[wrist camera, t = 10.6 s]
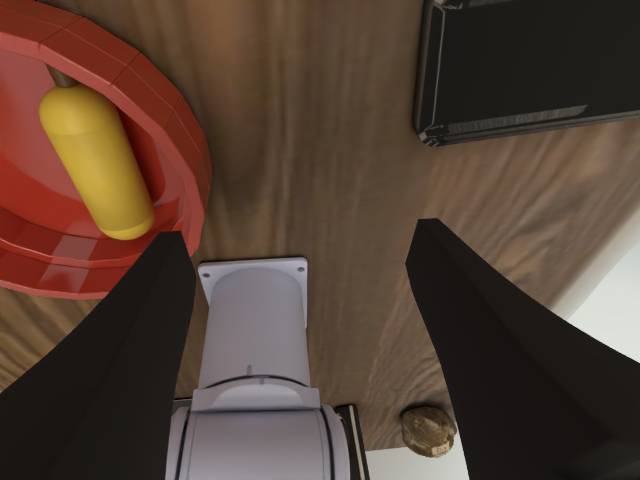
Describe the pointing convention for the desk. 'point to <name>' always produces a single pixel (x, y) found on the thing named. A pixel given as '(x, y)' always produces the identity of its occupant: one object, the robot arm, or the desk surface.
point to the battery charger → (354, 442)
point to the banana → (97, 156)
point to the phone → (524, 67)
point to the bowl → (53, 179)
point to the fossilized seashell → (428, 431)
